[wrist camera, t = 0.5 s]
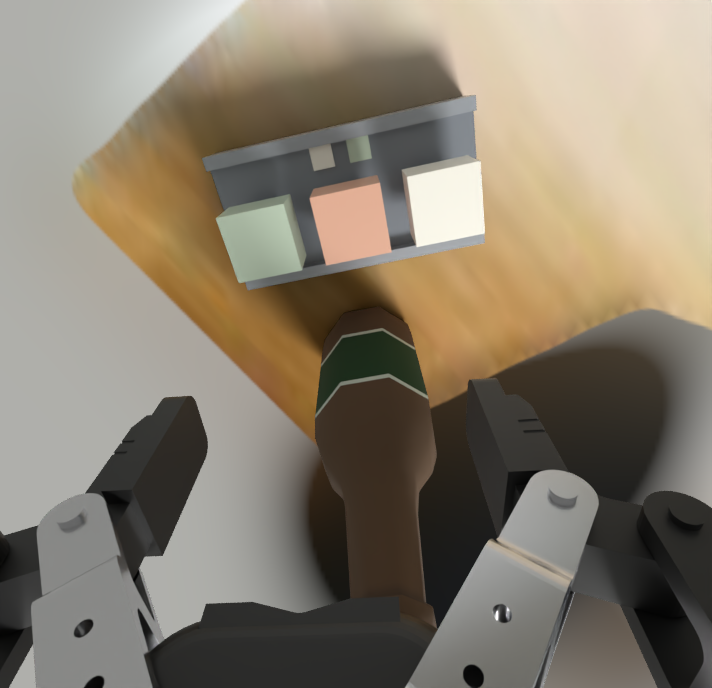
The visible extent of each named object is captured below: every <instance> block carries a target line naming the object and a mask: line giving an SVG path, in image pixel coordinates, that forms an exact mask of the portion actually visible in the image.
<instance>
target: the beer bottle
mask: <svg viewBox="0 0 712 688" xmlns="http://www.w3.org/2000/svg"><path fill="white" fill-rule="evenodd" d="M315 439H316V442H317V445H318V448H319V451H320V454H321V457H322V460H323V464H324V467H325V470H326V473H327V475H328V478H329V480H330V483H331V485H332V488H333V489H334V490H335V491H336V492H337V493H338V494H339V495H340V496H341V497H342V498H343V499H344V502H345V511H346V528H347V545H348V561H349V577H350V593H351V598H375V597H399V608H400V613H404V614H408V615H411V616H414V617H416V618H419V619H421V620H423V621H425V622H427V623H429V624H431V625H433V626H434V627H436V622H435V617H434V612H433V607H432V606H430V605H429V604H427V603H426V598H425V587H424V577H423V565H422V555H421V545H420V534H419V522H418V500H419V491H420V490H421V488H422V487H423V485H424V484H425V483H426V481H427V480H428V478H429V477H430V475H431V474H432V472H433V468H434V464H435V460H436V456H437V454H436V447H435V441H434V433H433V426H432V420H431V413H430V406H429V399H428V396H427V392H426V388H425V384H424V380H423V377H422V373H421V369H420V365H419V362H418V358H417V354H416V350H415V346H414V343H413V339H412V335H411V332H410V329H409V327H408V324H407V323H405V322H403V321H402V320H400V319H398V318H397V317H395V316H394V315H392V314H390V313H389V312H387V311H385V310H384V309H382V308H381V307H379V306H378V307H373V308H368V309H362V310H357V311H352V312H347V313H344V314H343V315H342V316H341V318H340V319H339V321H338V322H337V323H336V325H335V326H334V328H333V329H332V330H331V332H330V333H329V335H328V336H327V337H326V339H325V342H324V347H323V353H322V362H321V371H320V379H319V388H318V397H317V406H316V415H315ZM436 628H437V627H436Z"/></svg>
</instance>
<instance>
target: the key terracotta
mask: <svg viewBox="0 0 712 688" xmlns="http://www.w3.org/2000/svg"><path fill="white" fill-rule="evenodd" d="M310 202H311V206H312V210H313V214H314V218H315V223H316V227H317V231H318V235H319V239H320V243H321V247H322V251H323V255H324V259H325V263H326V265H331V264H336V263H341V262H346V261H351V260H356V259H361V258H366V257H371V256H376V255H381V254H386V253H391V252H392V251H391V245H390V239H389V233H388V227H387V221H386V215H385V210H384V204H383V198H382V192H381V186H380V181H379V179H378V176H377V175H374V176H370V177H365V178H361V179H356V180H352V181H347V182H342V183H338V184H333V185H329V186H324V187H320V188H315V189H313V191H312V193H311V196H310Z"/></svg>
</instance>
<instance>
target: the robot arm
mask: <svg viewBox="0 0 712 688" xmlns="http://www.w3.org/2000/svg"><path fill="white" fill-rule="evenodd" d="M466 432H467V439H468V444H469V447H470V450H471V453H472V457H473V460H474V463H475V466H476V469H477V472H478V476H479V479H480V482H481V485H482V488H483V491H484V495H485V498H486V501H487V504H488V507H489V510H490V513H491V517H492V520H493V523H494V526H495V529H496V533H497V536H498V539H497V540H495V539H493V538H492V539H490V540H489V541H488V542H487V544H486V545H485V547H484V548H483V550H482V552H481V554H480V556H479V557H478V559H477V561H476V563H475V564H474V566H473V568H472V570H471V572H470V573H469V575H468V577H467V579H466V581H465V582H464V584H463V586H462V588H461V590H460V591H459V593H458V595H457V597H456V598H455V600H454V602H453V604H452V605H451V607H450V609H449V611H448V613H447V614H446V616H445V618H444V620H443V622H442V623H441V625H440V627H439V629H437V628H436V627H434V626H433V625H431V624H429V623H427V622H425V621H423V620H421V619H419V618H416V617H414V616H411V615H408V614H404V613H400V608H399V597H375V598H350V599H347V600H344V601H341V602H337V603H334V604H331V605H328V606H324V607H321V608H317V609H314V610H311V611H308V612H304V613H294V612H290V611H286V610H282V609H278V608H274V607H270V606H266V605H262V604H258V603H254V602H245V603H244V602H242V603H217V604H206V606H205V609H204V612H203V616H202V619H201V621H200V622H197V623H194V624H192V625H190V626H187V627H185V628H183V629H181V630H179V631H178V632H176V633H174V634H172V635H171V636H169V637H168V638H167V639H164V637H163V634H162V631H161V629H160V626H159V623H158V620H157V617H156V614H155V610H154V607H153V604H152V602H151V598H150V595H149V592H148V589H147V586H146V583H145V580H144V577H143V574H142V572H141V570H140V568H139V567H140V565H141V563H142V561H143V558H144V557H145V556H163V554H164V551H165V549H166V547H167V545H168V542H169V540H170V538H171V536H172V533H173V531H174V529H175V526H176V524H177V522H178V520H179V517H180V515H181V513H182V510H183V508H184V506H185V504H186V501H187V499H188V496H189V494H190V492H191V490H192V487H193V485H194V483H195V481H196V479H197V476H198V473H199V472H200V469H201V467H202V465H203V463H204V460H205V458H206V455H207V449H208V441H207V436H206V433H205V429H204V426H203V423H202V420H201V417H200V414H199V411H198V407H197V404H196V401H195V400H194V398H193V397H192V396H182V397H166V398H164V399H163V400H162V401H161V402H160V404H159V405H158V407H157V408H156V410H155V411H154V413H153V414H152V415H149V416H146V417H144V418H143V419H142V420H141V421H139V422H138V423H137V424H136V425H134V426H133V427H132V428H131V429H130V431H129V432H128V433H127V435H126V436H125V438H124V439H123V441H122V444H120V445H119V446H118V448H117V449H116V450H115V452H114V453H115V454H114V455H112V456H111V457H110V459H109V460H108V462H107V463H106V465H105V466H104V467H103V469H102V470H101V472H100V473H99V475H98V476H97V477H96V479H95V480H94V482H93V483H92V484H91V486H90V487H89V489H88V490H87V491H86V493H85V494H81V495H77V496H74V497H72V498H69V499H67V500H65V501H63V502H61V503H60V504H58V505H57V506H55V507H54V508H53V509H52V510H50V511H49V512H48V513H47V514H46V515H45V517H44V518H43V519H42V520H41V522H40V524H39V525H38V526H35V527H31V528H28V529H25V530H21V531H18V532H15V533H11V534H8V535H3V534H2V533H1V531H0V688H9V686H10V684H11V683H12V681H13V679H14V677H15V675H16V674H17V672H18V670H19V668H20V666H21V665H22V663H23V661H24V659H25V657H26V656H27V654H28V652H29V650H30V648H31V647H32V645H33V648H34V663H35V678H36V688H543V686H544V683H545V680H546V677H547V673H548V670H549V667H550V664H551V661H552V658H553V654H554V651H555V649H556V646H557V643H558V640H559V637H560V634H561V631H562V628H563V625H564V622H565V619H566V616H567V613H568V610H569V608H570V605H571V602H572V599H573V596H574V593H575V592H577V593H580V594H584V595H587V596H591V597H595V598H598V599H602V600H606V601H609V602H614V603H617V604H620V606H621V608H622V610H623V612H624V615H625V616H626V619H627V621H628V623H629V626H630V628H631V630H632V632H633V634H634V636H635V639H636V641H637V643H638V645H639V647H640V650H641V652H642V654H643V656H644V659H645V661H646V663H647V665H648V667H649V669H650V672H651V674H652V676H653V678H654V680H655V683H656V685H657V687H658V688H712V508H711V507H709V506H708V505H706V504H705V503H703V502H701V501H700V500H698V499H696V498H693V497H691V496H688V495H686V494H682V493H678V492H673V491H659V492H654V493H652V494H650V495H649V496H648V497H647V498H646V499H645V500H644V503H643V506H642V505H637V504H632V503H627V502H622V501H617V500H612V499H608V498H604V497H602V496H599V495H597V494H596V493H595V491H594V489H593V488H592V487H591V486H590V485H589V484H588V483H587V482H586V481H584V480H583V479H581V478H580V477H578V476H576V475H574V474H571V473H569V472H568V470H567V468H566V466H565V464H564V463H563V461H562V459H561V458H560V456H559V454H558V452H557V450H556V448H555V447H554V445H553V443H552V441H551V440H550V438H549V436H548V434H547V432H545V429H544V427H543V425H542V424H541V422H540V421H539V419H538V416H537V415H536V413H535V411H534V409H533V408H532V406H531V405H530V404H529V403H528V402H526V401H525V400H523V399H522V398H521V397H520V396H519V395H505V393H504V391H503V389H502V387H501V385H500V383H499V381H498V380H497V378H488V379H472V380H469V382H468V394H467V413H466Z"/></svg>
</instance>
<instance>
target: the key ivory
mask: <svg viewBox="0 0 712 688" xmlns="http://www.w3.org/2000/svg"><path fill="white" fill-rule="evenodd" d="M402 177H403V184H404V191H405V198H406V205H407V212H408V219H409V226H410V233H411V236H412V238H413V240H414V242H415V244H416V247H420V246H425V245H430V244H435V243H440V242H445V241H450V240H455V239H460V238H465V237H470V236H475V235H480V234H485V228H484V211H483V195H482V178H481V162H480V161H479V160H477V159H475V158H473V157H470V156H468V155H466V156H461V157H457V158H452V159H448V160H443V161H438V162H434V163H429V164H425V165H420V166H416V167H411V168H406V169H402Z"/></svg>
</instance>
